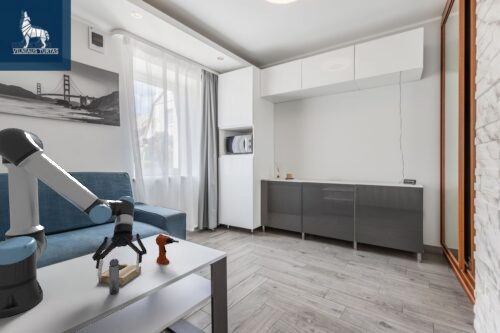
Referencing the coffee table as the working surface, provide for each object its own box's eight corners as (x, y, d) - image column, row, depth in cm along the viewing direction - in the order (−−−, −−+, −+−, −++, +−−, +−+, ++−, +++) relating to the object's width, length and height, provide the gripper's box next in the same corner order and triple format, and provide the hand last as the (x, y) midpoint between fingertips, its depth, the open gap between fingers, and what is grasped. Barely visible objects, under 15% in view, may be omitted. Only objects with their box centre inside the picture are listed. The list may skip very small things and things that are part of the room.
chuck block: (98, 282, 102) (98, 275, 102) (118, 269, 114) (118, 263, 114) (123, 284, 100) (122, 277, 100) (141, 272, 112) (141, 265, 112)
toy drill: (176, 268, 112) (173, 236, 113) (154, 263, 123) (152, 234, 124) (184, 265, 116) (182, 234, 117) (162, 260, 127) (160, 232, 128)
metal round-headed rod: (107, 294, 93) (107, 260, 92) (113, 290, 96) (113, 256, 96) (114, 295, 92) (114, 261, 92) (121, 291, 95) (120, 257, 95)
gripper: (153, 228, 116) (152, 271, 102) (93, 233, 107) (84, 282, 94) (152, 220, 111) (151, 264, 97) (90, 225, 102) (79, 275, 88)
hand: (118, 273), depth 95 cm, fingers open, 13 cm apart
